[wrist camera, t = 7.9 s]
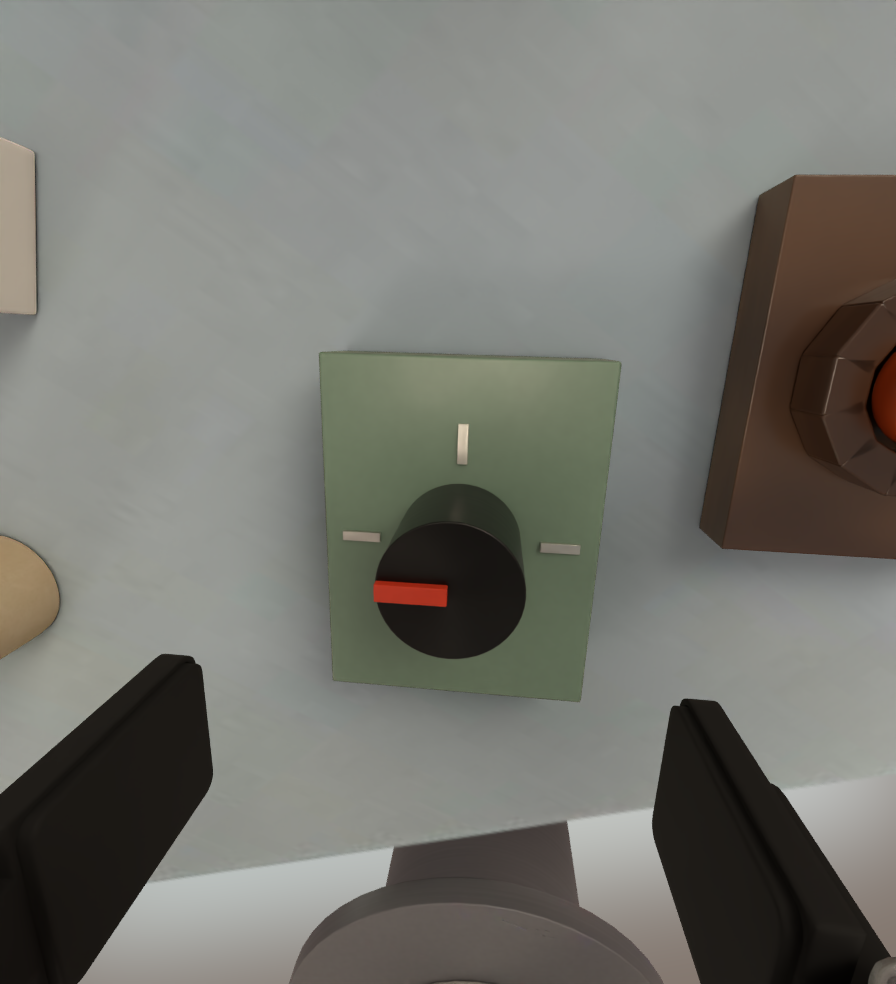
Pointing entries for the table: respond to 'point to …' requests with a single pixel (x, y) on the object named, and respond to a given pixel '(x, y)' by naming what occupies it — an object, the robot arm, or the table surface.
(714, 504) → the switch block
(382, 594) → the dial
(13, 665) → the table surface
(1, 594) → the candle
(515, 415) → the dial panel
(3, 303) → the milk
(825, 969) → the robot arm
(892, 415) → the button
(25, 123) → the table surface
